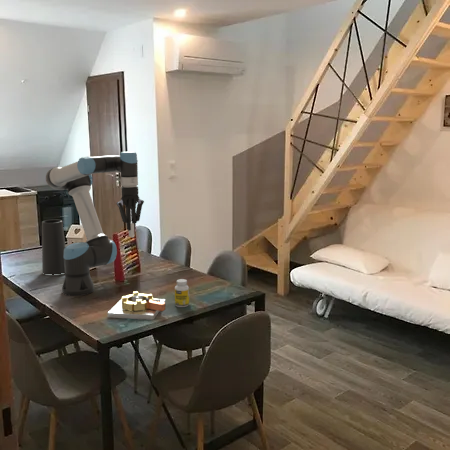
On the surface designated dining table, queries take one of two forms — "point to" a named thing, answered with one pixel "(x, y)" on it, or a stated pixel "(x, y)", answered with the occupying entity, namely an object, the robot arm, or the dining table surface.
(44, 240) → the vase
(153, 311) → the plate
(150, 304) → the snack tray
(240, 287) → the dining table surface
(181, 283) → the pill bottle
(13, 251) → the dining table surface
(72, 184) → the robot arm
